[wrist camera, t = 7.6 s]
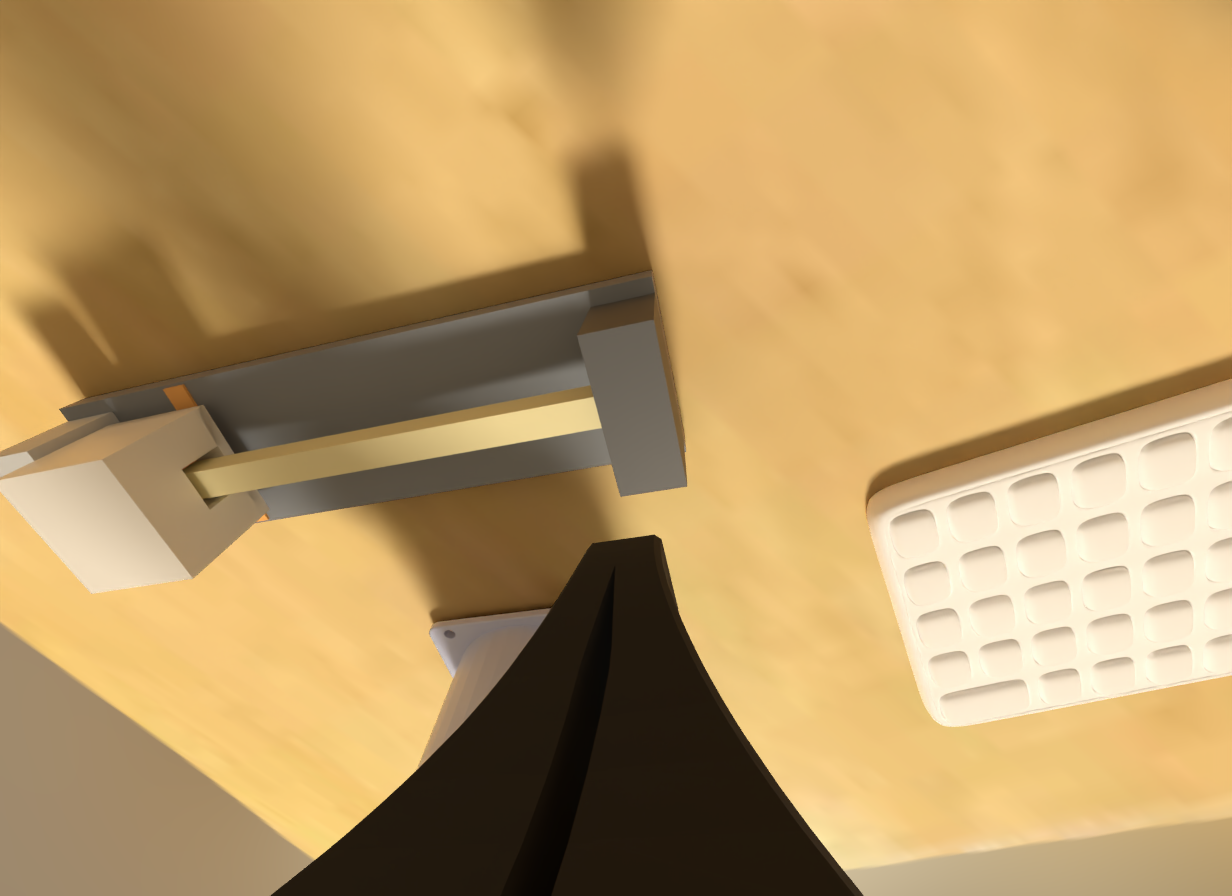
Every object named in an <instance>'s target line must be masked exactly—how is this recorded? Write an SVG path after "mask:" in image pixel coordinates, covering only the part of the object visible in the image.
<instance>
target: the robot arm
mask: <svg viewBox="0 0 1232 896" xmlns="http://www.w3.org/2000/svg"><path fill="white" fill-rule="evenodd" d="M450 630H451V631H450ZM452 631H453V632H452ZM429 634H430V637H431V639H432V640H433V642H434V644H435V646H436V648H437V650H438V652H439V653H440V655H441V657H442V659H443V661H444V663H445V665H446V666H447V668H448V670H449V672H450V674H451V676H452V678H453V680H452V683H451V685H450V688H449V690H448V693H447V695H446V698H445V700H444V703H443V705H442V708H441V710H440V713H439V715H438V718H437V720H436V723H435V725H434V728H433V730H432V733H431V735H430V738H429V740H428V743H427V745H426V748H425V750H424V753H423V755H422V758H421V760H420V763H419V765H418V768H417V770H416V771H415V772H414V773H413V774H412V775H411V776H410V777H409V778H408V779H407V780H406V781H405V782H404V783H403V784H402V785H401V786H400V787H399V788H398V789H396V790H395V791H394V792H393V793H392V794H391V795H390V796H389V797H388V798H387V799H386V800H385V801H383V802H382V803H381V804H380V805H379V806H378V807H377V808H376V809H375V810H373V811H372V812H371V813H370V814H369V815H368V816H367V817H365V818H364V819H363V820H362V821H361V822H360V823H359V824H357V825H356V826H355V827H354V828H353V829H352V830H351V831H350V832H348V833H347V834H346V835H345V836H344V837H342V838H341V839H340V840H339V841H338V842H337V843H335V844H334V845H333V846H332V847H331V848H329V849H328V850H327V851H326V852H325V853H323V854H322V855H321V856H320V857H318V858H317V859H316V860H315V861H313V862H312V863H311V864H310V865H308V866H307V867H306V868H304V869H303V870H302V871H301V872H299V873H298V874H297V875H296V876H294V877H293V878H292V879H291V880H289V881H288V882H287V883H286V884H284V885H283V886H282V887H281V888H279V889H278V890H277V891H276V892H274V893H273V894H272V895H271V896H863V894H862V893H861V892H860V891H859V889H858V888H857V887H856V886H855V884H854V883H853V882H852V880H851V879H850V878H849V877H848V876H847V874H846V873H845V872H844V871H843V869H842V868H841V867H840V866H839V864H838V863H837V862H836V861H835V859H834V858H833V857H832V856H831V854H830V853H829V852H828V850H827V849H826V848H825V847H824V845H823V844H822V843H821V841H820V840H819V839H818V838H817V836H816V835H815V834H814V832H813V831H812V830H811V829H810V827H809V826H808V825H807V823H806V822H805V821H804V819H803V818H802V816H801V815H800V814H799V812H798V811H797V810H796V808H795V807H794V806H793V804H792V803H791V802H790V800H789V799H788V798H787V796H786V795H785V793H784V792H783V791H782V789H781V788H780V787H779V785H778V784H777V782H776V781H775V779H774V778H773V776H772V775H771V773H770V772H769V770H768V769H767V768H766V766H765V765H764V763H763V762H762V760H761V759H760V757H759V756H758V754H757V753H756V751H755V750H754V748H753V747H752V745H751V744H750V742H749V741H748V740H747V738H746V737H745V735H744V734H743V732H742V731H741V729H740V727H739V726H738V724H737V723H736V721H735V719H734V718H733V716H732V714H731V713H730V711H729V709H728V708H727V706H726V705H725V703H724V701H723V700H722V698H721V696H720V694H719V693H718V691H717V689H716V687H715V686H714V684H713V682H712V680H711V679H710V677H709V675H708V673H707V671H706V669H705V667H704V666H703V664H702V662H701V660H700V658H699V656H698V654H697V652H696V650H695V648H694V646H693V644H692V641H691V639H690V637H689V635H688V633H687V631H686V629H685V626H684V624H683V622H682V620H681V617H680V615H679V612H678V607H677V602H676V598H675V594H674V590H673V586H672V582H671V577H670V573H669V569H668V565H667V561H666V557H665V552H664V548H663V544H662V540H661V539H660V538H659V537H657V536H656V535H649V536H642V537H635V538H628V539H621V540H614V541H607V542H599V543H592V544H591V546H590V547H589V548H588V550H587V551H586V553H585V555H584V556H583V558H582V560H581V561H580V563H579V565H578V566H577V568H576V570H575V571H574V573H573V575H572V576H571V578H570V580H569V581H568V583H567V584H566V586H565V588H564V589H563V591H562V592H561V594H560V596H559V597H558V599H557V600H556V602H555V603H554V605H553V606H552V608H548V609H540V610H531V611H523V612H515V613H507V614H498V615H490V616H482V617H473V618H465V619H457V620H448V621H440V622H436V623H434V624H433V625H432V627H431V629H430V632H429Z"/></svg>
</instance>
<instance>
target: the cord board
mask: <svg viewBox="0 0 1232 896" xmlns="http://www.w3.org/2000/svg"><path fill="white" fill-rule="evenodd" d="M200 405H204V406H205V408H206V410H207V411H208V413H209V414H210V416H211V418H212V419H213V421H214V422H215V424H216V425H217V427H218V429H219V430H220V432H221V433H222V435H223V436H224V438H225V440H226V441H227V443H228V444H229V446H230V448H231V449H232V451H233V452H234V454H232V455H227V456H221V457H216V458H211V459H206V460H201V461H196V460H195V461H194V462H192V463H191V464H189V465H188V466H186V467H184V468H183V469H182V470H183V472H184V473H185V475H186V476H187V478H188V479H189V481H190V482H191V483H192V485H193V486H194V488H195V489H196V491H197V492H198V493H199V495H200V496H201V498H202V499H206V498H212V497H217V496H223V495H228V494H234V493H240V492H245V491H251V490H256V489H257V490H258V492H259V493H260V495H261V496H262V498H263V500H264V501H265V503H266V504H267V506H268V508H269V509H270V510H269V511H268V512H267V513H265V514H264V515H263V516H262V517H261V518H260V519H259V520H258V521H257V522H255V523H259V522H265V521H271V520H277V519H283V518H289V517H295V516H301V515H307V514H313V513H319V512H325V511H331V510H338V509H344V508H350V507H356V506H362V505H368V504H374V503H380V502H386V501H392V500H398V499H404V498H410V497H416V496H422V495H428V494H434V493H440V492H446V491H452V490H458V489H464V488H470V487H476V486H482V485H488V484H494V483H501V482H507V481H513V480H519V479H525V478H531V477H537V476H543V475H549V474H555V473H561V472H567V471H573V470H579V469H585V468H591V467H597V466H603V465H609V464H612V467H613V471H614V475H615V478H616V482H617V486H618V489H619V493H620V497H622V496H628V495H635V494H641V493H648V492H654V491H661V490H667V489H674V488H680V487H687V476H686V463H685V452H686V445H685V436H684V431H683V426H682V420H681V415H680V410H679V405H678V400H677V395H676V390H675V384H674V379H673V374H672V369H671V364H670V359H669V354H668V348H667V343H666V338H665V333H664V328H663V323H662V318H661V312H660V307H659V302H658V297H657V292H656V287H655V281H654V276H653V271H652V270H650V271H645V272H641V273H636V274H632V275H627V276H623V277H619V278H614V279H610V280H605V281H601V282H597V283H592V284H588V285H583V286H579V287H575V288H570V289H566V290H561V291H557V292H552V293H548V294H544V295H539V296H535V297H530V298H526V299H522V300H517V301H513V302H508V303H504V304H500V305H495V306H491V307H486V308H482V309H477V310H473V311H469V312H464V313H460V314H455V315H451V316H447V317H442V318H438V319H433V320H429V321H424V322H420V323H416V324H411V325H407V326H402V327H398V328H394V329H389V330H385V331H380V332H376V333H372V334H367V335H363V336H358V337H354V338H349V339H345V340H341V341H336V342H332V343H327V344H323V345H319V346H314V347H310V348H305V349H301V350H297V351H292V352H288V353H283V354H279V355H274V356H270V357H266V358H261V359H257V360H252V361H248V362H244V363H239V364H235V365H230V366H226V367H222V368H217V369H213V370H208V371H204V372H199V373H195V374H191V375H186V376H182V377H177V378H173V379H169V380H164V381H160V382H155V383H151V384H147V385H142V386H138V387H133V388H129V389H124V390H120V391H116V392H111V393H107V394H102V395H98V396H94V397H89V398H85V399H82V400H80V401H78V402H75V403H73V404H70V405H68V406H66V407H63V408H61V409H59V410H60V411H61V412H62V414H63V415H64V416H65V418H66V419H67V420H68V422H66V423H64V424H61V425H59V426H57V427H55V428H52V429H50V430H48V431H46V432H43V433H41V434H39V435H37V436H34V437H32V438H30V439H28V440H25V441H23V442H21V443H19V444H16V445H14V446H12V447H10V448H8V449H5V450H3V451H1V452H0V477H2V476H4V475H7V474H9V473H11V472H13V471H15V470H17V469H19V468H21V467H23V466H25V465H27V464H29V463H31V462H33V461H35V460H38V459H40V458H42V457H44V456H46V455H48V454H50V453H52V452H54V451H56V450H58V449H60V448H62V447H64V446H66V445H69V444H71V443H73V442H75V441H77V440H79V439H81V438H83V437H85V436H87V435H89V434H91V433H93V432H95V431H97V430H100V429H102V428H104V427H106V426H108V425H111V424H116V423H121V422H125V421H130V420H135V419H139V418H144V417H149V416H153V415H158V414H163V413H167V412H172V411H177V410H181V409H186V408H191V407H195V406H200Z"/></svg>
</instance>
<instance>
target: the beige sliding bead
mask: <svg viewBox="0 0 1232 896" xmlns="http://www.w3.org/2000/svg"><path fill="white" fill-rule="evenodd" d="M232 454H234V452H233V451H232V449H231V448H230V446H229V444H228V443H227V441H226V440H225V438H224V436H223V435H222V433H221V432H220V430H219V429H218V427H217V425H216V424H215V422H214V421H213V419H212V418H211V416H210V414H209V413H208V411H207V410H206V408H205V406H204V405H200V406H195V407H191V408H186V409H181V410H177V411H172V412H167V413H163V414H158V415H153V416H149V417H144V418H139V419H135V420H130V421H125V422H121V423H116V424H111V425H108V426H106V427H104V428H102V429H100V430H97V431H95V432H93V433H91V434H89V435H87V436H85V437H83V438H81V439H79V440H77V441H75V442H73V443H71V444H69V445H66V446H64V447H62V448H60V449H58V450H56V451H54V452H52V453H50V454H48V455H46V456H44V457H42V458H40V459H38V460H35V461H33V462H31V463H29V464H27V465H25V466H23V467H21V468H19V469H17V470H15V471H13V472H11V473H9V474H7V475H4V476H2V477H0V492H1V493H2V494H3V495H4V496H5V498H6V499H7V500H8V501H9V502H10V503H11V504H12V505H13V506H14V508H15V509H16V510H17V511H18V512H19V513H20V514H21V515H22V517H23V518H24V519H25V520H26V521H27V522H28V523H29V524H30V526H31V527H32V528H33V529H34V530H35V531H36V532H37V533H38V535H39V536H40V537H41V538H42V539H43V540H44V541H45V542H46V543H47V545H48V546H49V547H50V548H51V549H52V550H53V551H54V552H55V554H56V555H57V556H58V557H59V558H60V559H61V560H62V561H63V563H64V564H65V565H66V566H67V567H68V568H69V569H70V570H71V571H72V573H73V574H74V575H75V576H76V577H77V578H78V579H79V580H80V582H81V583H82V584H83V585H84V586H85V587H86V588H87V589H88V591H89V592H90V593H91V594H93V593H100V592H106V591H113V590H120V589H127V588H133V587H140V586H147V585H153V584H160V583H167V582H174V581H180V580H187V579H193V578H194V577H195V576H196V575H198V574H199V573H200V572H201V571H202V570H203V569H204V568H205V567H206V566H208V565H209V564H210V563H211V562H212V561H213V560H214V559H215V558H217V557H218V556H219V555H220V554H221V553H222V552H223V551H224V550H225V549H227V548H228V547H229V546H230V545H231V544H232V543H233V542H234V541H235V540H237V539H238V538H239V537H240V536H241V535H242V534H243V533H244V532H245V531H247V530H248V529H249V528H250V527H251V526H252V525H253V524H254V523H255V522H257V521H258V520H259V519H260V518H261V517H262V516H263V515H264V514H265V513H267V512H268V511H269V510H270V509H269V508H268V506H267V504H266V503H265V501H264V500H263V498H262V496H261V495H260V493H259V492H258V490H257V489H256V490H251V491H245V492H240V493H234V494H228V495H223V496H217V497H212V498H206V499H202V498H201V496H200V495H199V493H198V492H197V491H196V489H195V488H194V486H193V485H192V483H191V482H190V481H189V479H188V478H187V476H186V475H185V473H184V472H183V470H182V469H183V468H184V467H186V466H188V465H189V464H191V463H192V462H194V461H195V460H196V461H201V460H206V459H211V458H216V457H221V456H227V455H232Z"/></svg>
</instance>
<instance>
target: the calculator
mask: <svg viewBox="0 0 1232 896" xmlns="http://www.w3.org/2000/svg"><path fill="white" fill-rule="evenodd" d="M1188 433H1189V434H1188ZM990 494H991V495H990ZM1076 505H1077V506H1076ZM867 521H868V525H869V530H870V533H871V537H872V540H873V544H874V547H875V550H876V553H877V557H878V560H879V563H880V566H881V570H882V573H883V576H884V579H885V583H886V586H887V589H888V592H889V596H890V599H891V602H892V605H893V609H894V612H895V615H896V618H897V622H898V625H899V628H900V631H901V635H902V638H903V641H904V644H905V648H906V651H907V654H908V657H909V661H910V664H911V667H912V670H913V674H914V677H915V680H916V683H917V687H918V690H919V693H920V696H921V698H922V701H923V703H924V705H925V707H926V709H927V711H928V712H929V714H930V715H931V716H932V718H933V719H934V720H935V721H936V722H938V723H939V724H941V725H944V726H950V727H957V726H967V725H973V724H979V723H985V722H990V721H995V720H1001V719H1006V718H1011V717H1016V716H1022V715H1027V714H1032V713H1037V712H1043V711H1048V710H1053V709H1058V708H1063V707H1069V706H1074V705H1079V704H1084V703H1089V702H1095V701H1100V700H1105V699H1110V698H1115V697H1121V696H1126V695H1131V694H1136V693H1141V692H1147V691H1152V690H1157V689H1162V688H1167V687H1173V686H1178V685H1183V684H1188V683H1193V682H1199V681H1204V680H1209V679H1214V678H1220V677H1225V676H1230V675H1232V378H1231V379H1228V380H1225V381H1222V382H1219V383H1215V384H1212V385H1209V386H1206V387H1202V388H1199V389H1196V390H1193V391H1190V392H1186V393H1183V394H1180V395H1177V396H1173V397H1170V398H1167V399H1164V400H1161V401H1157V402H1154V403H1151V404H1148V405H1145V406H1141V407H1138V408H1135V409H1132V410H1128V411H1125V412H1122V413H1119V414H1116V415H1112V416H1109V417H1106V418H1103V419H1099V420H1096V421H1093V422H1090V423H1087V424H1083V425H1080V426H1077V427H1074V428H1071V429H1067V430H1064V431H1061V432H1058V433H1054V434H1051V435H1048V436H1045V437H1042V438H1038V439H1035V440H1032V441H1029V442H1025V443H1022V444H1019V445H1016V446H1013V447H1009V448H1006V449H1003V450H1000V451H997V452H993V453H990V454H987V455H984V456H980V457H977V458H974V459H971V460H968V461H964V462H961V463H958V464H955V465H951V466H948V467H945V468H942V469H939V470H935V471H932V472H929V473H926V474H923V475H920V476H916V477H913V478H910V479H907V480H904V481H902V482H899V483H896V484H893V485H890V486H888V487H886V488H884V489H882V490H880V491H878V492H876V493H875V494H874V495H873V496H872V497H871V498H870V499H869V502H868V505H867ZM896 551H897V552H896ZM944 565H945V566H944ZM945 567H946V568H945ZM1125 567H1126V568H1125ZM1207 578H1208V579H1207ZM964 586H965V587H964ZM908 596H909V597H908ZM910 599H911V600H910ZM955 611H956V612H955ZM956 613H957V614H956ZM1128 615H1129V616H1128ZM921 640H922V641H921ZM1187 646H1188V647H1187ZM1089 649H1090V650H1089ZM967 657H968V658H967ZM1130 658H1131V659H1130ZM1076 670H1077V671H1076ZM1024 681H1025V682H1024ZM1025 683H1026V684H1025Z"/></svg>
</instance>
